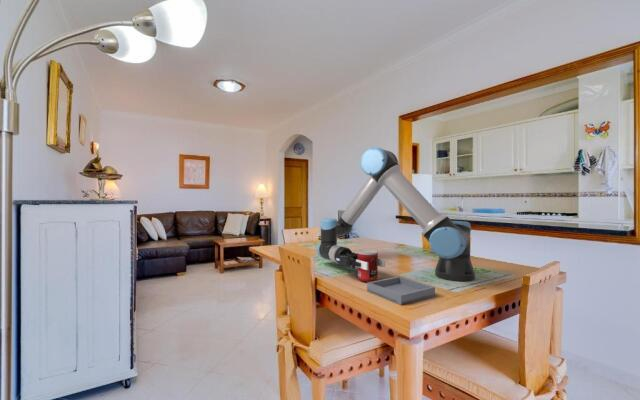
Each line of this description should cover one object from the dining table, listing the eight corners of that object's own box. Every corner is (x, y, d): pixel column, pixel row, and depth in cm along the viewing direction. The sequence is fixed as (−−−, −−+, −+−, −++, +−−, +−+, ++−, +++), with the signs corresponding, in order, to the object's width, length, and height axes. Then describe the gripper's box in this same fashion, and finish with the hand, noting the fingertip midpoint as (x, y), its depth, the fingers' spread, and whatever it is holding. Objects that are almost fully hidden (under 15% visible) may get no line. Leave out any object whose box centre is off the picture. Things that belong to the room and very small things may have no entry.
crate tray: (399, 284, 116) (399, 276, 116) (435, 296, 102) (435, 287, 102) (367, 291, 107) (367, 282, 107) (401, 305, 94) (401, 295, 94)
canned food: (373, 283, 115) (373, 254, 115) (354, 279, 119) (354, 251, 119) (380, 278, 121) (380, 250, 121) (362, 275, 126) (362, 248, 125)
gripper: (358, 260, 141) (395, 271, 122) (321, 266, 130) (354, 278, 111) (358, 244, 141) (395, 252, 121) (321, 248, 130) (354, 258, 111)
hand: (375, 265), depth 116 cm, fingers closed on canned food, 8 cm apart
